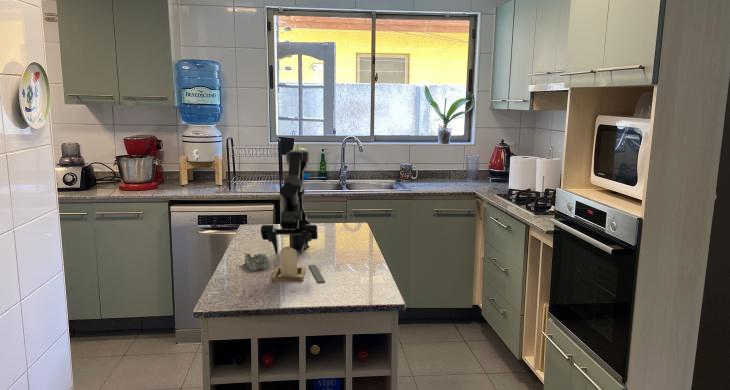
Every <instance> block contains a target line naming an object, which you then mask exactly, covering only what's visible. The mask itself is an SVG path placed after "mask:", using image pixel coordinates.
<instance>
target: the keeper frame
mask: <svg viewBox="0 0 730 390" xmlns="http://www.w3.org/2000/svg"><path fill="white" fill-rule="evenodd" d="M279 273H280V274H281V267H279V266H278V267H275V269H274V272H273V274H272V276H271V281H272V282H276V283H277V282H280V283H281V282H285V283H286V282H304V279H305V275H306V266H301V267H300V266H297V273H300V275H297V276H281V275H279ZM278 275H279V276H278Z"/></svg>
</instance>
